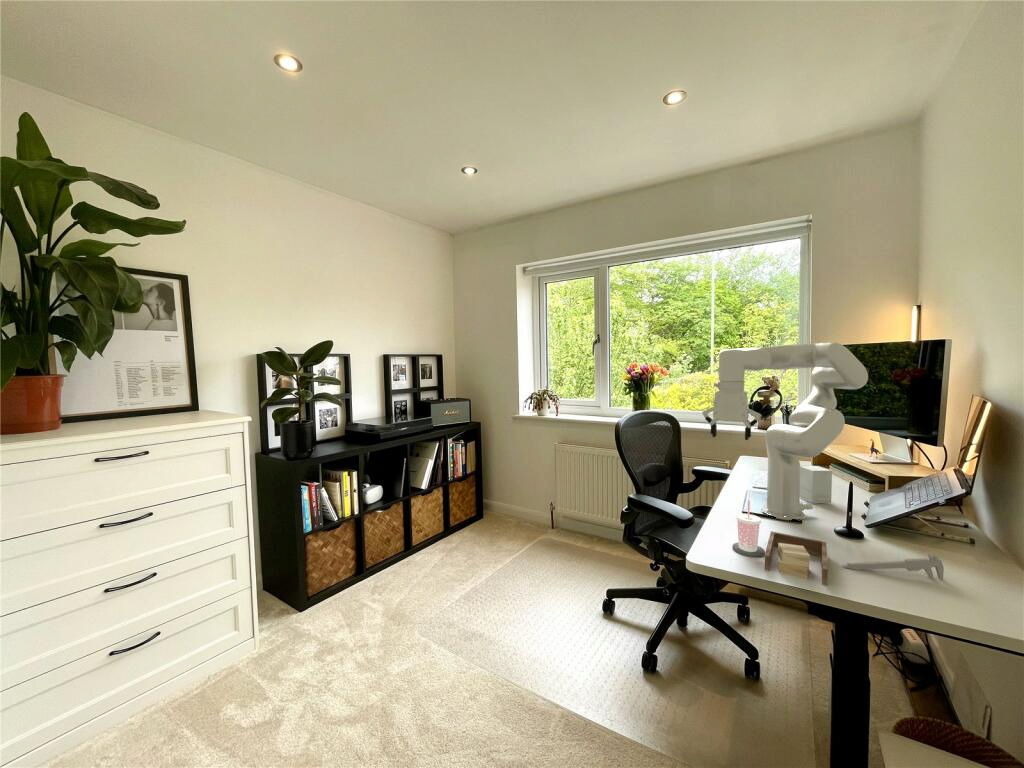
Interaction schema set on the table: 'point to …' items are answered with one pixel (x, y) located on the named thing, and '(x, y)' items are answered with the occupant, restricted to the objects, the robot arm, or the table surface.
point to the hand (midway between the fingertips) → (730, 437)
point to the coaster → (758, 553)
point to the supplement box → (815, 484)
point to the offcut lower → (794, 570)
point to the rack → (809, 544)
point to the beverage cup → (748, 531)
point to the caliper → (904, 565)
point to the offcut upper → (793, 555)
